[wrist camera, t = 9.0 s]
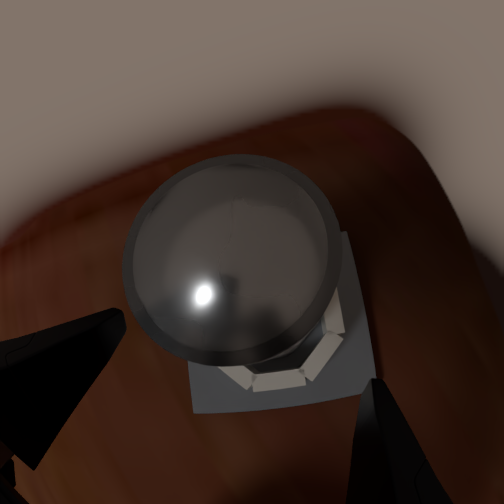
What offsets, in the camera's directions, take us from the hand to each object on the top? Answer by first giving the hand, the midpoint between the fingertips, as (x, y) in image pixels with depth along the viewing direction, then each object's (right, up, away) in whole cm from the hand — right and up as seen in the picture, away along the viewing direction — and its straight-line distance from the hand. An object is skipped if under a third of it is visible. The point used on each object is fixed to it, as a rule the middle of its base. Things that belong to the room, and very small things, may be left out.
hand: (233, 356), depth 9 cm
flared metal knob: (+2, -1, +9) cm, 9 cm away
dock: (+2, -1, +10) cm, 10 cm away
